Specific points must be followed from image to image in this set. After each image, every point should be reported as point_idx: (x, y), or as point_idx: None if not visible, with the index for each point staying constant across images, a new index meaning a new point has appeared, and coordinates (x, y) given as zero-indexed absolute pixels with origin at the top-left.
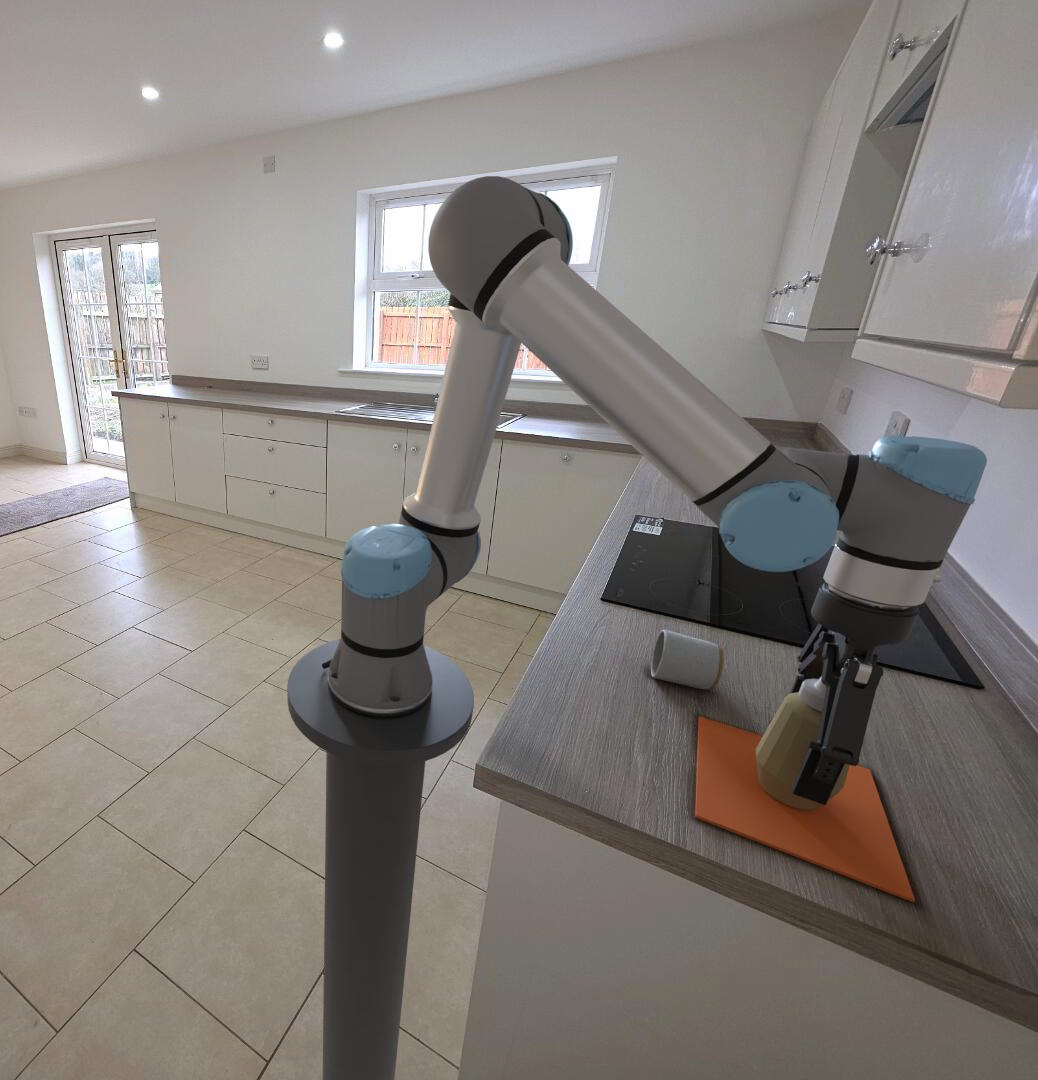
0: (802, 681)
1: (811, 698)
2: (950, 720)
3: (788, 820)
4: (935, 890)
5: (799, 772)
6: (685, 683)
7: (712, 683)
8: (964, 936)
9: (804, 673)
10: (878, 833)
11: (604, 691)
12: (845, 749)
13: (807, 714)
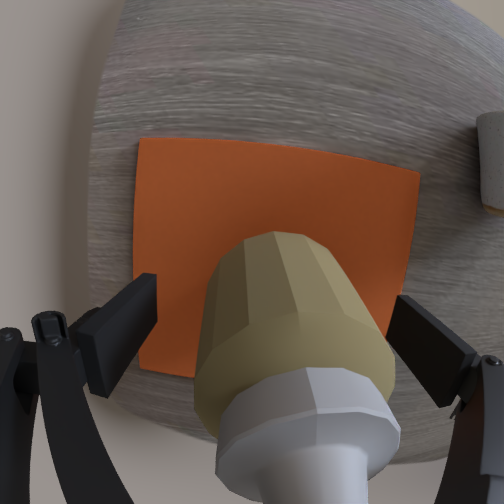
0: (457, 362)
1: (251, 412)
2: None
3: (198, 269)
4: (175, 390)
5: (138, 290)
6: (480, 164)
7: (488, 203)
8: (128, 387)
9: (477, 371)
10: None
11: (408, 39)
12: (27, 387)
13: (221, 366)
